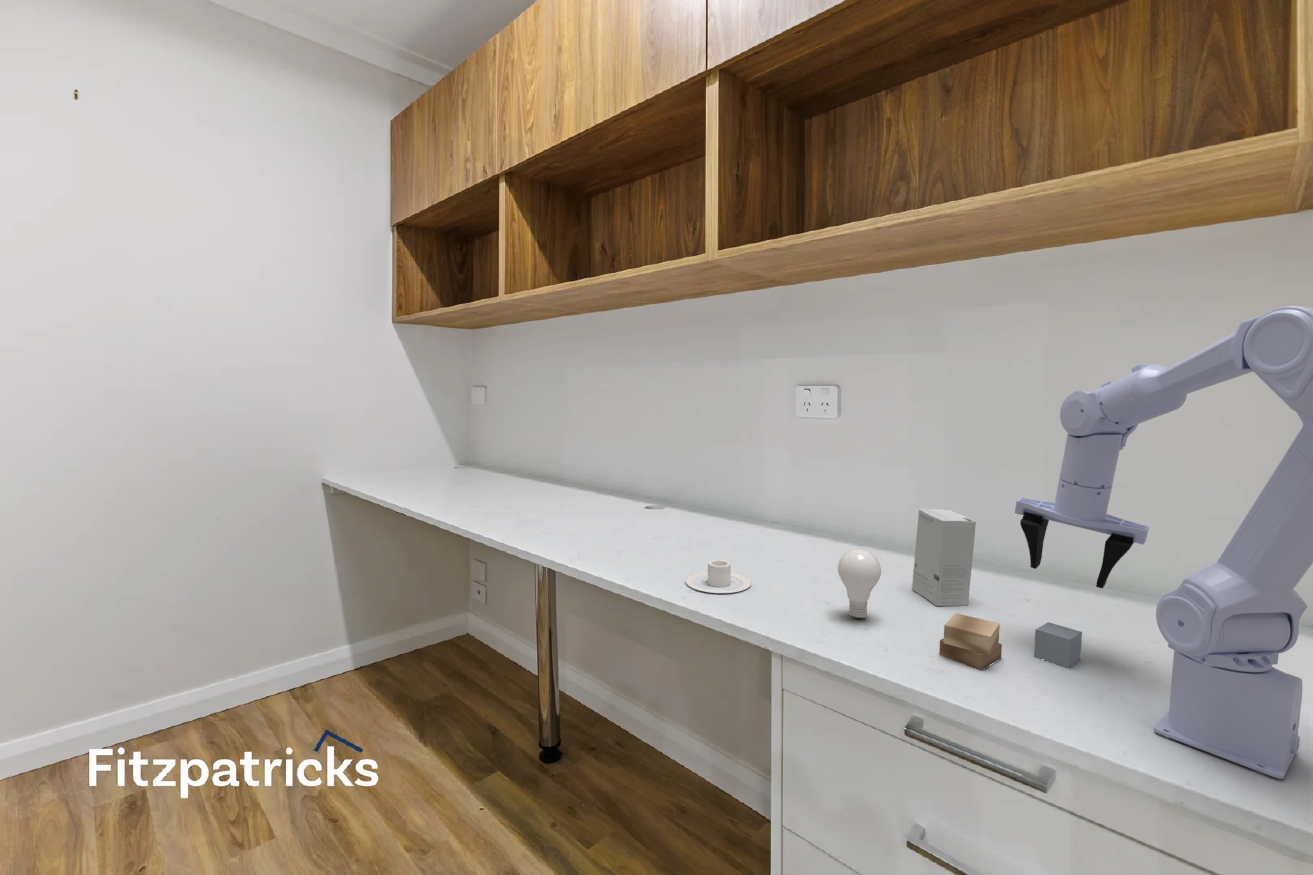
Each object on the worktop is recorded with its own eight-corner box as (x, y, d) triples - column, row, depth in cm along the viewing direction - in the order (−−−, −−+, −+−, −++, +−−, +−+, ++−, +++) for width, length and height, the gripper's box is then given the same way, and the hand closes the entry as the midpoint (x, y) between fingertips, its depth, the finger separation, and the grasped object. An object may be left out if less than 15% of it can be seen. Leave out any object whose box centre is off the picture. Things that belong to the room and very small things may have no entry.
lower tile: (1000, 661, 79) (1001, 643, 79) (980, 673, 76) (981, 654, 76) (960, 646, 84) (960, 629, 83) (939, 657, 80) (939, 639, 80)
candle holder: (672, 583, 110) (672, 561, 109) (717, 570, 118) (717, 549, 117) (718, 602, 101) (719, 577, 100) (764, 586, 108) (765, 563, 108)
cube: (1080, 660, 79) (1082, 631, 78) (1067, 669, 76) (1069, 639, 76) (1046, 649, 82) (1048, 622, 82) (1033, 657, 80) (1035, 629, 79)
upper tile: (998, 641, 80) (999, 623, 80) (989, 655, 76) (990, 636, 75) (954, 630, 83) (955, 612, 83) (943, 643, 79) (944, 625, 79)
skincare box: (911, 590, 105) (914, 508, 104) (943, 589, 106) (947, 507, 105) (938, 608, 97) (942, 519, 96) (972, 606, 98) (977, 518, 96)
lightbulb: (871, 629, 88) (874, 558, 87) (830, 619, 92) (832, 550, 91) (884, 616, 94) (886, 548, 92) (844, 607, 97) (846, 541, 96)
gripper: (1160, 488, 76) (1138, 584, 79) (1032, 463, 86) (1017, 550, 89) (1151, 501, 71) (1128, 603, 74) (1016, 473, 81) (1001, 564, 84)
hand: (1066, 575), depth 81 cm, fingers open, 7 cm apart
